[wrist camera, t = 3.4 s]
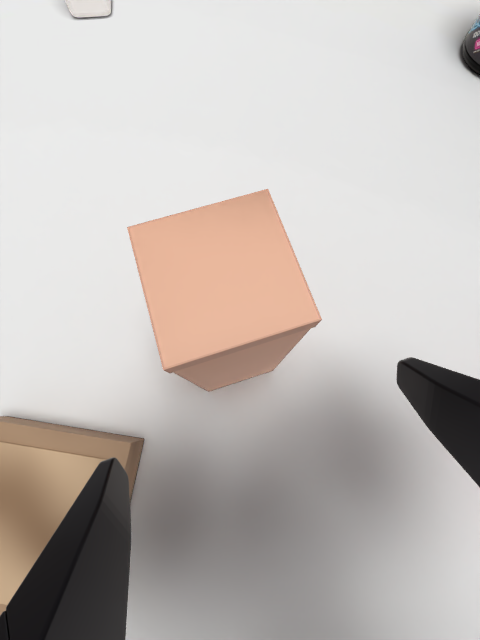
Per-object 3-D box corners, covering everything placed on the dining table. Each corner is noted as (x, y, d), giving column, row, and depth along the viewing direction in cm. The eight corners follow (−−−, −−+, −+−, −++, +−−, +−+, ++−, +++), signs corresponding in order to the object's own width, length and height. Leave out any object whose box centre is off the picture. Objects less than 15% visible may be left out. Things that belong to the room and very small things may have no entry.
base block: (105, 610, 17) (82, 646, 14) (-50, 581, 17) (-99, 611, 15) (144, 438, 19) (130, 443, 17) (7, 416, 20) (-27, 417, 17)
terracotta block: (273, 371, 21) (322, 319, 9) (208, 392, 20) (163, 370, 8) (251, 309, 22) (267, 188, 10) (189, 328, 22) (127, 227, 10)
